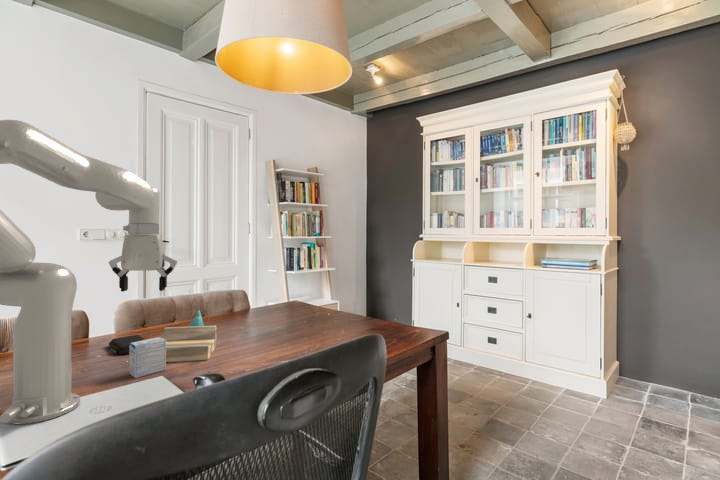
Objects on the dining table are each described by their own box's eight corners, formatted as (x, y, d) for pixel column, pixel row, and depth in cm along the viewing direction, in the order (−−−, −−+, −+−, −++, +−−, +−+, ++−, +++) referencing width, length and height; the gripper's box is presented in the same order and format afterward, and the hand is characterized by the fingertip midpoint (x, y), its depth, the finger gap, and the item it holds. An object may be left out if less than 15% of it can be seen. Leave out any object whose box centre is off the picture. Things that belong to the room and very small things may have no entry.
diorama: (151, 337, 138) (151, 314, 138) (203, 327, 154) (203, 306, 153) (165, 343, 131) (165, 319, 130) (219, 332, 146) (219, 310, 146)
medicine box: (159, 366, 107) (159, 336, 107) (166, 370, 104) (166, 339, 104) (128, 374, 101) (128, 342, 101) (135, 378, 98) (135, 346, 98)
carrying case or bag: (104, 347, 125) (115, 358, 115) (104, 338, 125) (115, 348, 115) (139, 341, 133) (153, 351, 122) (139, 333, 133) (153, 341, 122)
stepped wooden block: (207, 359, 113) (208, 336, 113) (150, 362, 110) (150, 339, 110) (216, 346, 127) (216, 325, 127) (165, 348, 124) (165, 327, 124)
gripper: (104, 229, 101) (103, 293, 101) (174, 230, 105) (173, 291, 105) (115, 230, 108) (114, 289, 108) (180, 231, 112) (179, 288, 112)
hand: (143, 290), depth 106 cm, fingers open, 9 cm apart
